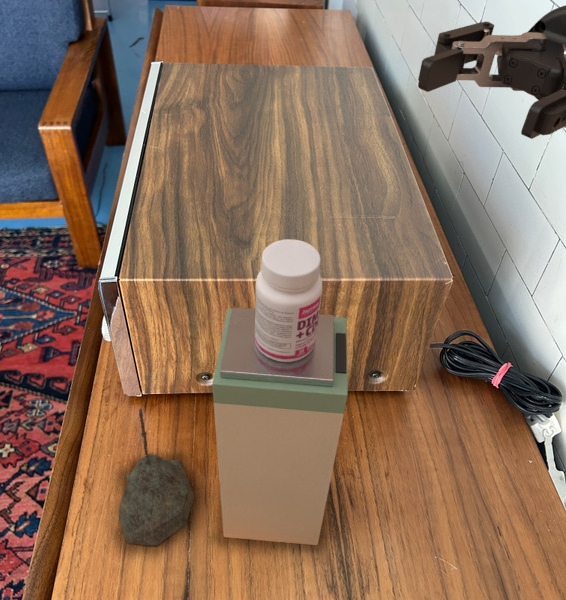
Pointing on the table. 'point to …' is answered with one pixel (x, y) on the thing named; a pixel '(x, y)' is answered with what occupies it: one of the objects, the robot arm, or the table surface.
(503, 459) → the table surface
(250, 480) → the pedestal
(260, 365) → the scale
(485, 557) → the table surface
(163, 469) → the grey rough stone lump
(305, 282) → the pill bottle
